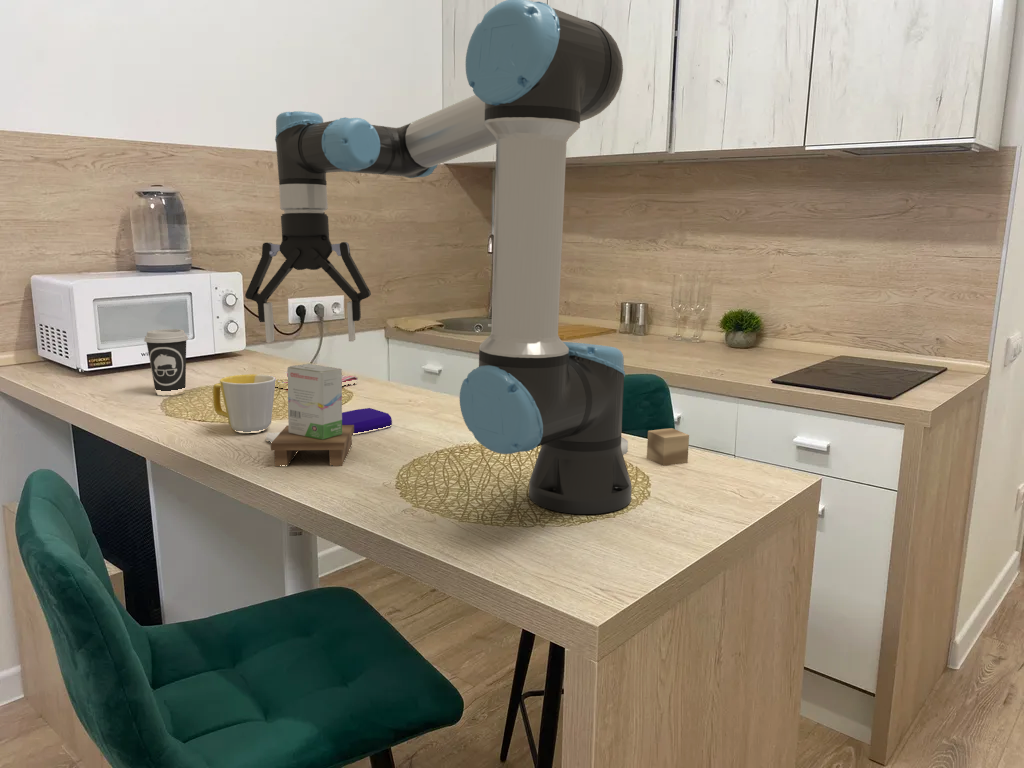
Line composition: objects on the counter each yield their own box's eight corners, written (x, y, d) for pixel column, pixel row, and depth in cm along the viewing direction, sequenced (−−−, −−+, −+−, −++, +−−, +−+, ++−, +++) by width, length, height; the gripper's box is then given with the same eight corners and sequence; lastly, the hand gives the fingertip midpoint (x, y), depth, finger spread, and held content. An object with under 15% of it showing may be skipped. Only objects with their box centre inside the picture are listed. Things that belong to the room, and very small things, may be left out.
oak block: (687, 463, 132) (689, 435, 131) (663, 466, 130) (664, 437, 129) (670, 455, 136) (672, 428, 135) (646, 458, 134) (648, 430, 133)
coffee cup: (200, 392, 185) (196, 330, 182) (164, 399, 177) (159, 334, 174) (176, 387, 190) (171, 327, 187) (140, 394, 182) (134, 331, 179)
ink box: (287, 433, 133) (284, 366, 131) (310, 427, 137) (307, 362, 135) (323, 440, 129) (320, 371, 126) (345, 434, 133) (342, 366, 130)
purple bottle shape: (366, 406, 161) (255, 427, 144) (397, 415, 153) (283, 438, 136) (367, 419, 161) (256, 442, 145) (397, 429, 154) (284, 454, 137)
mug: (289, 429, 151) (286, 377, 149) (244, 440, 143) (241, 385, 141) (246, 419, 159) (243, 369, 157) (202, 429, 151) (198, 377, 149)
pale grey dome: (632, 458, 135) (632, 447, 135) (581, 458, 134) (582, 447, 134) (621, 444, 144) (622, 434, 143) (574, 444, 143) (574, 434, 143)
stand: (345, 465, 128) (344, 442, 127) (272, 466, 127) (270, 443, 127) (354, 446, 140) (354, 424, 139) (287, 446, 139) (286, 425, 138)
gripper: (383, 213, 130) (387, 337, 134) (233, 213, 128) (242, 339, 132) (378, 211, 123) (383, 342, 127) (219, 211, 121) (229, 345, 125)
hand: (311, 341), depth 129 cm, fingers open, 13 cm apart
